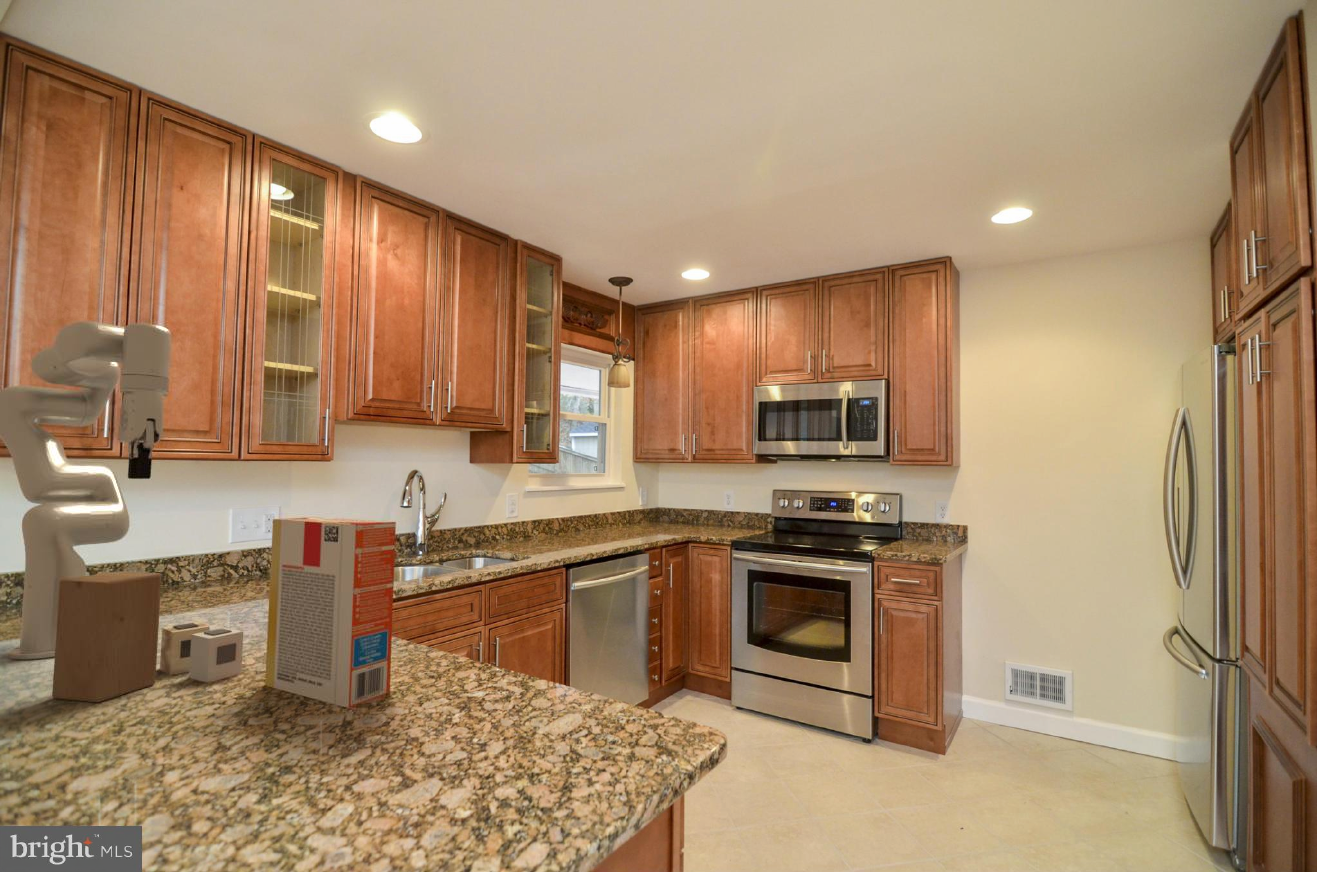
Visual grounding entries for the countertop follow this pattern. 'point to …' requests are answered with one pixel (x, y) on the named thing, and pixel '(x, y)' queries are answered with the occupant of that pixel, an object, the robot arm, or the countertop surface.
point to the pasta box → (331, 608)
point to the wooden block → (106, 635)
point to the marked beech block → (178, 646)
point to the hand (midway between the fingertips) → (139, 478)
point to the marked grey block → (216, 654)
